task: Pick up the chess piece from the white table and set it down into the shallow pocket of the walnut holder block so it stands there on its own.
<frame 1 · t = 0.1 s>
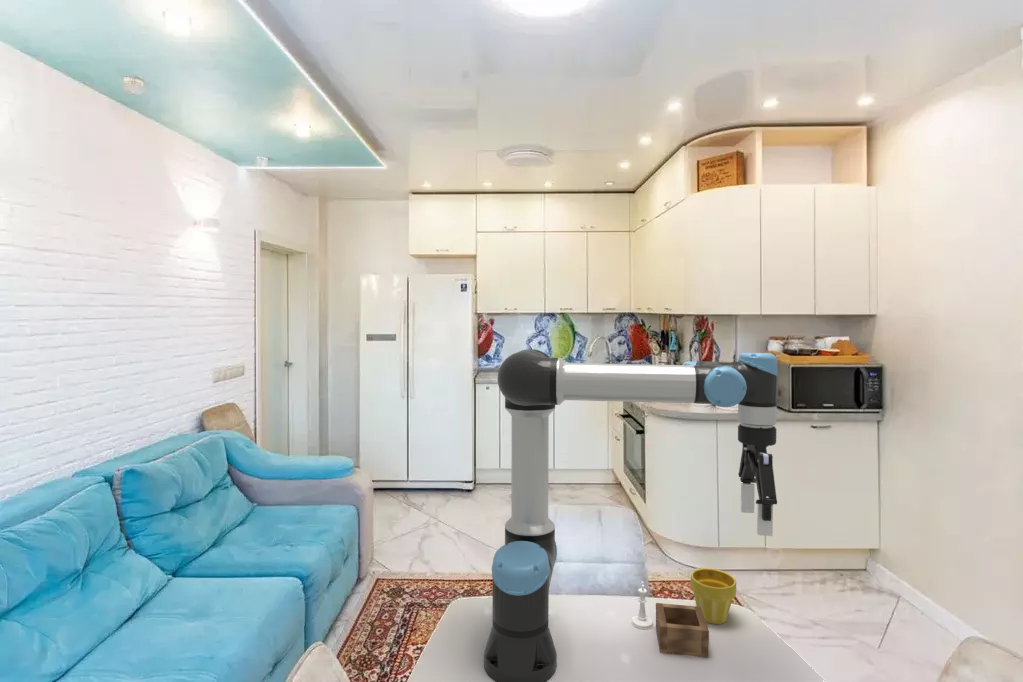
hand: (755, 523, 116), 28 cm above the table, tool pointing down, fingers open, 13 cm apart
plant pot: (712, 617, 130), on the table
chess piece: (642, 624, 127), on the table
walnut holder: (680, 642, 120), on the table
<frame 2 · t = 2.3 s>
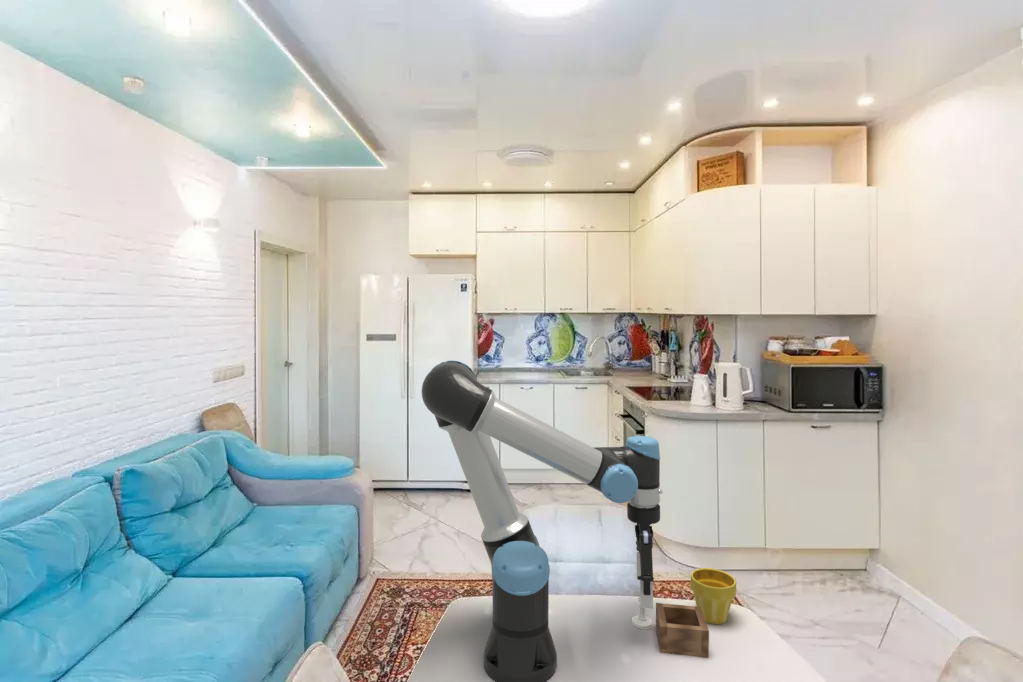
hand: (644, 592, 127), 7 cm above the table, tool pointing down, fingers open, 13 cm apart
nothing on the table moved.
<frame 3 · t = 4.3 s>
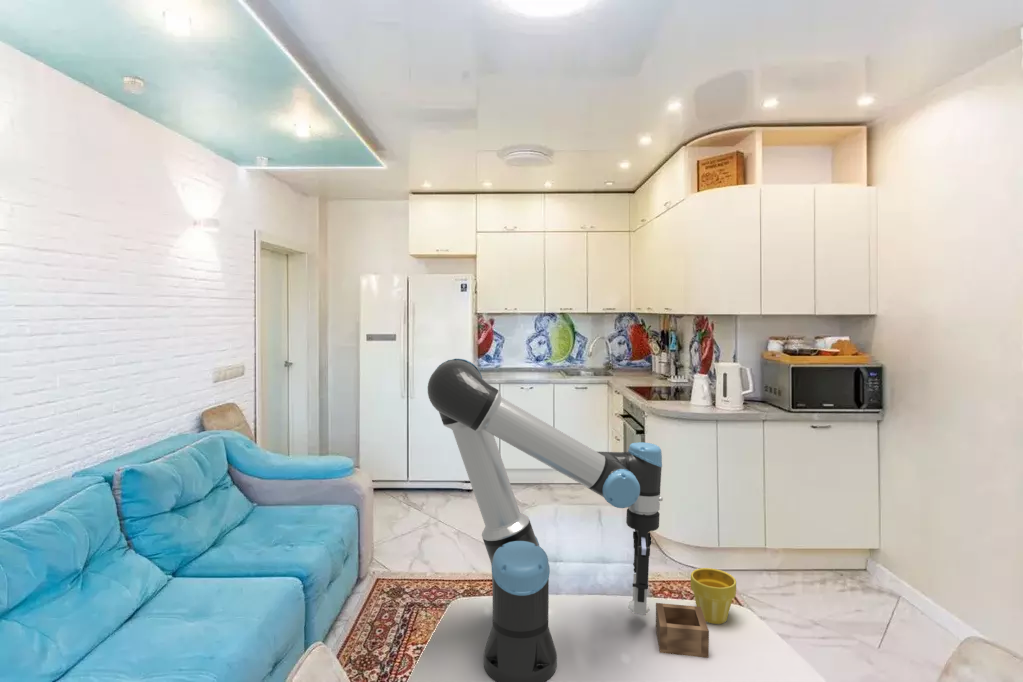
hand: (639, 607, 127), 4 cm above the table, tool pointing down, fingers closed on chess piece, 5 cm apart
chess piece: (638, 609, 127), point 3 cm above the table, touching gripper
everything else where it was.
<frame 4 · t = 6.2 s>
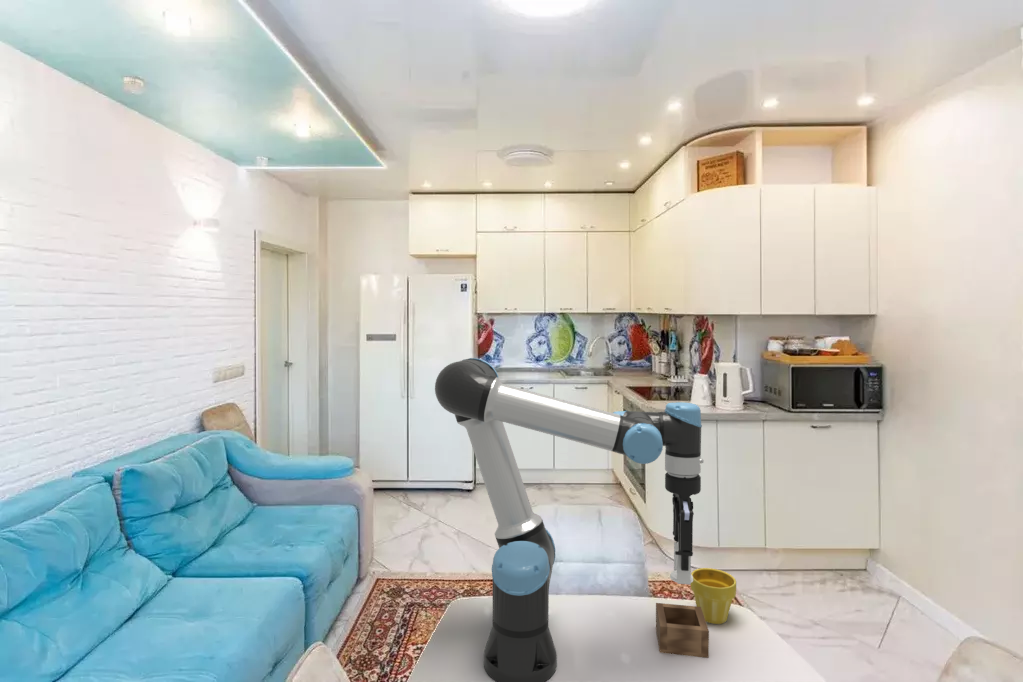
hand: (682, 577, 119), 15 cm above the table, tool pointing down, fingers closed on chess piece, 5 cm apart
chess piece: (681, 579, 119), point 14 cm above the table, touching gripper
everything else where it was.
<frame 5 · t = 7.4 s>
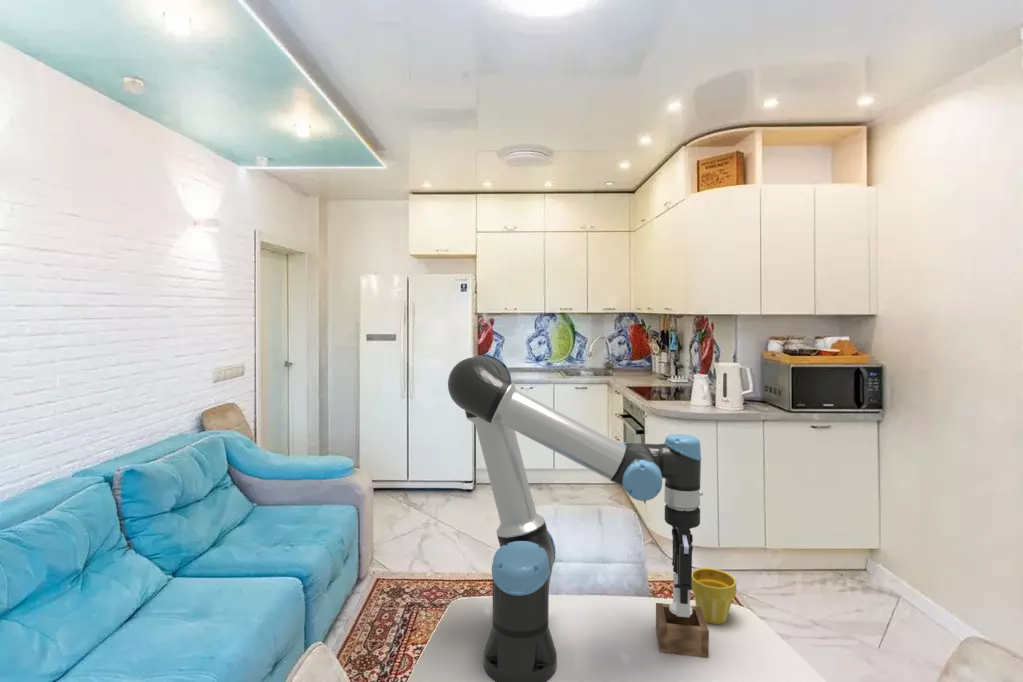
hand: (681, 609, 120), 7 cm above the table, tool pointing down, fingers closed on chess piece, 5 cm apart
chess piece: (680, 611, 120), point 7 cm above the table, touching gripper
everything else where it was.
when the fingers open (7 cm above the table, at t = 8.4 s): chess piece drops 6 cm, resting on walnut holder.
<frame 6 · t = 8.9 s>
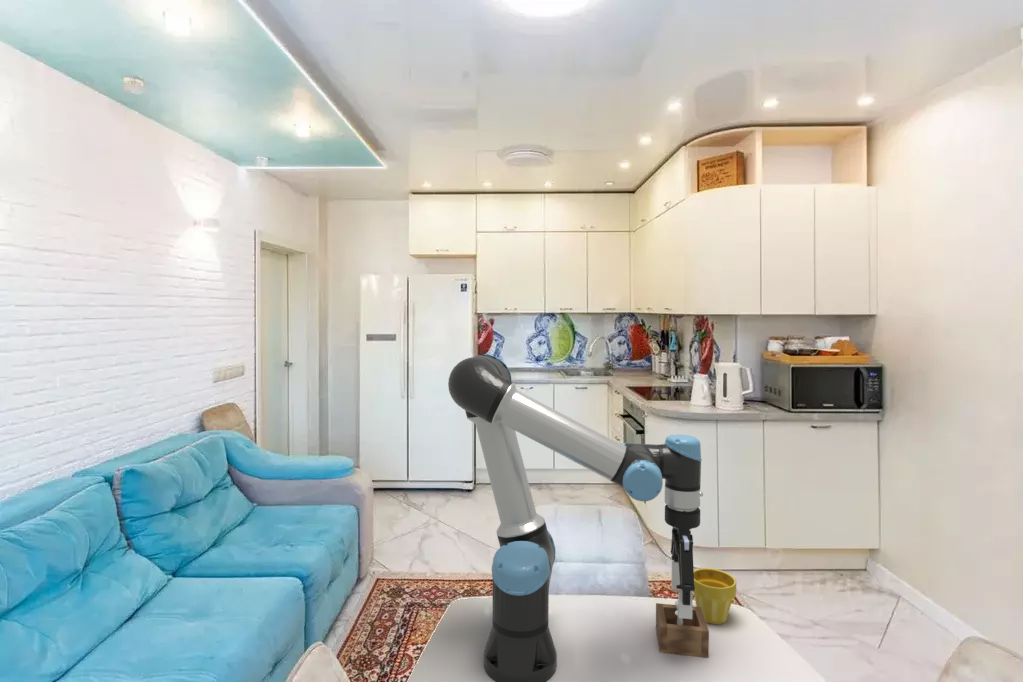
hand: (681, 603, 120), 9 cm above the table, tool pointing down, fingers open, 11 cm apart
chess piece: (680, 638, 120), point 1 cm above the table, touching walnut holder
walnut holder: (680, 643, 120), on the table, touching chess piece
everything else where it was.
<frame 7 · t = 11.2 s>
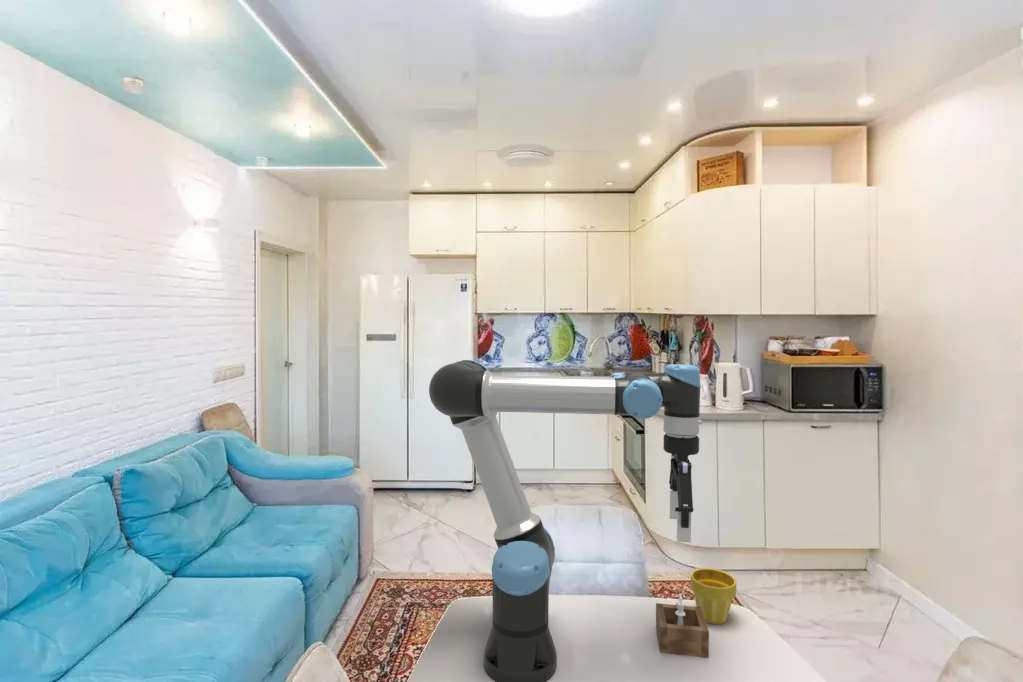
hand: (679, 529, 119), 25 cm above the table, tool pointing down, fingers open, 13 cm apart
nothing on the table moved.
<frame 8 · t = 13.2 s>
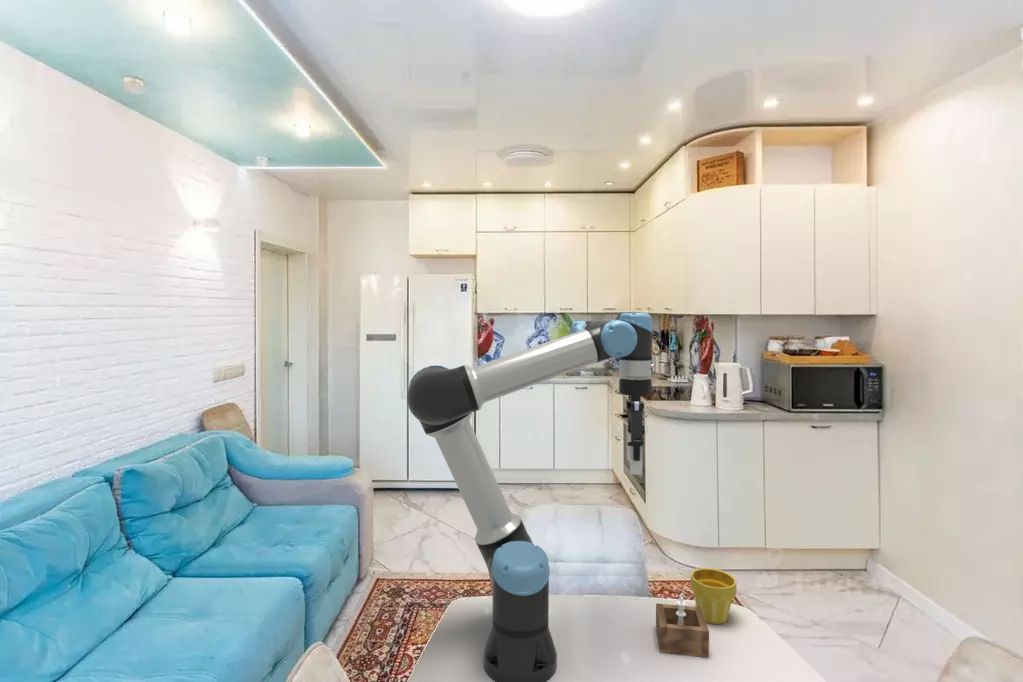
hand: (634, 466, 128), 37 cm above the table, tool pointing down, fingers open, 13 cm apart
nothing on the table moved.
at the end: chess piece 0.1 cm off-centre on the walnut holder, point 0.8 cm above the walnut holder's base; chess piece tilted 0°; the gripper is holding nothing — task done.
